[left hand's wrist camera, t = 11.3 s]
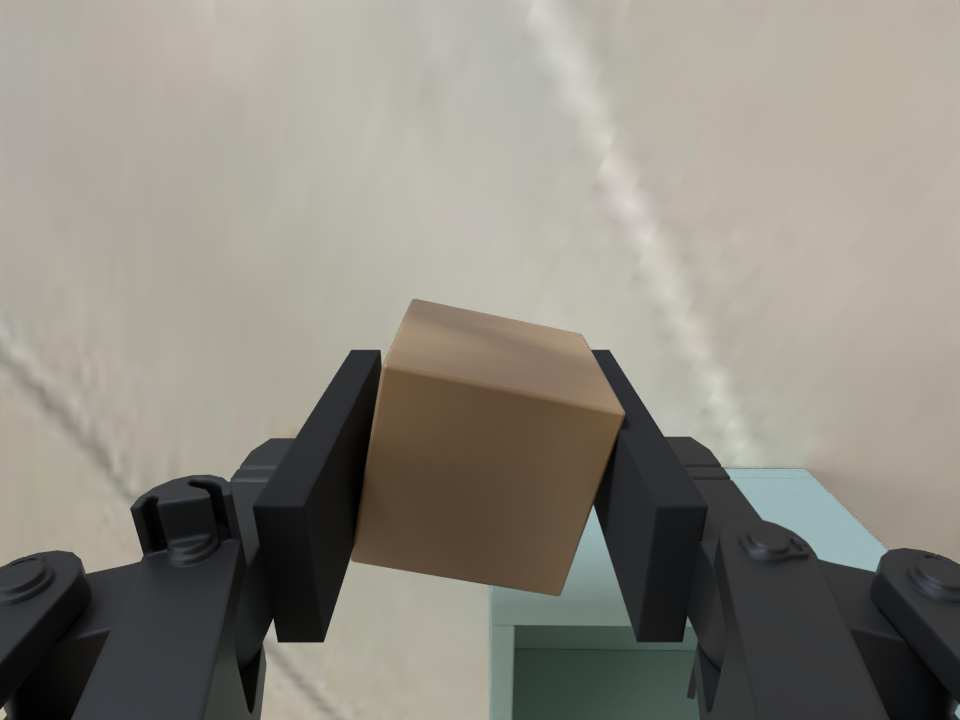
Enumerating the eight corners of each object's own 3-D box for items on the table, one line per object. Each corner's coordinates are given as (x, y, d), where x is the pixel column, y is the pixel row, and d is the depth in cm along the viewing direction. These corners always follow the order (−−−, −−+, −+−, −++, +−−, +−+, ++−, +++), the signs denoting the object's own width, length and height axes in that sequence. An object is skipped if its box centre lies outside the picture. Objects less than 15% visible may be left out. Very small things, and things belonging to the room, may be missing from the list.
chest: (489, 646, 30) (489, 826, 22) (490, 466, 26) (491, 607, 18) (761, 649, 30) (862, 832, 22) (806, 468, 26) (952, 612, 18)
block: (385, 448, 15) (349, 563, 11) (412, 297, 14) (381, 363, 9) (538, 477, 16) (561, 599, 11) (583, 333, 14) (628, 413, 10)
